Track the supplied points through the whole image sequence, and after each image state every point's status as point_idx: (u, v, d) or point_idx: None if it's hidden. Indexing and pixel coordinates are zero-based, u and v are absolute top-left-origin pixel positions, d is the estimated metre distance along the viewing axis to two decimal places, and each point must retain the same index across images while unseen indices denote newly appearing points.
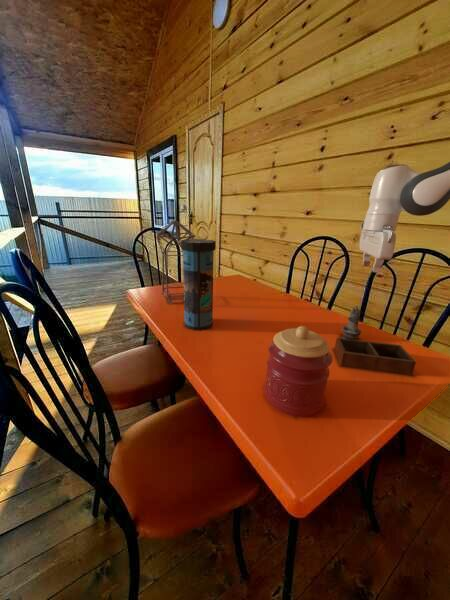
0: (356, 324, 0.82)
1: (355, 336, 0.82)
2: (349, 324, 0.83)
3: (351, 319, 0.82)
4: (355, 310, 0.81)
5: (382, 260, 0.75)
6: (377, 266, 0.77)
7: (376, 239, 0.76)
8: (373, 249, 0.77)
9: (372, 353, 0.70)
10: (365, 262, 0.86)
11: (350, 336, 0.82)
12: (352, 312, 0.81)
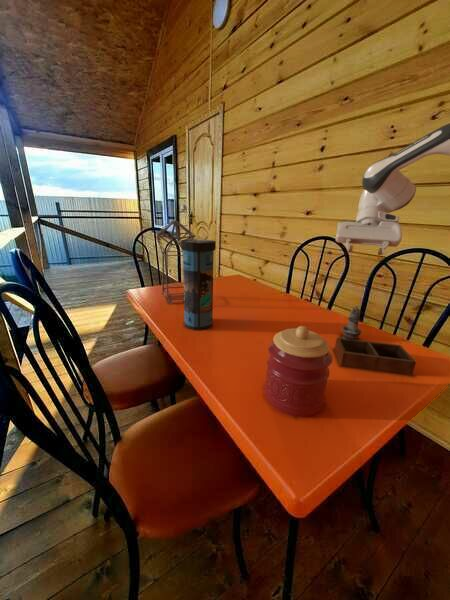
0: (356, 324, 0.82)
1: (355, 336, 0.82)
2: (349, 324, 0.83)
3: (351, 319, 0.82)
4: (355, 310, 0.81)
5: (345, 240, 0.90)
6: (347, 246, 0.90)
7: None
8: None
9: (372, 353, 0.70)
10: (378, 251, 0.86)
11: (350, 336, 0.82)
12: (352, 312, 0.81)
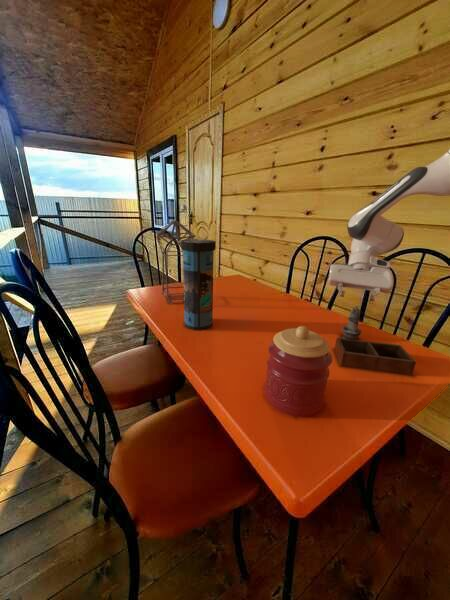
0: (356, 324, 0.82)
1: (355, 336, 0.82)
2: (349, 324, 0.83)
3: (351, 319, 0.82)
4: (355, 310, 0.81)
5: (338, 285, 0.91)
6: (339, 291, 0.90)
7: None
8: None
9: (372, 353, 0.70)
10: None
11: (350, 336, 0.82)
12: (352, 312, 0.81)
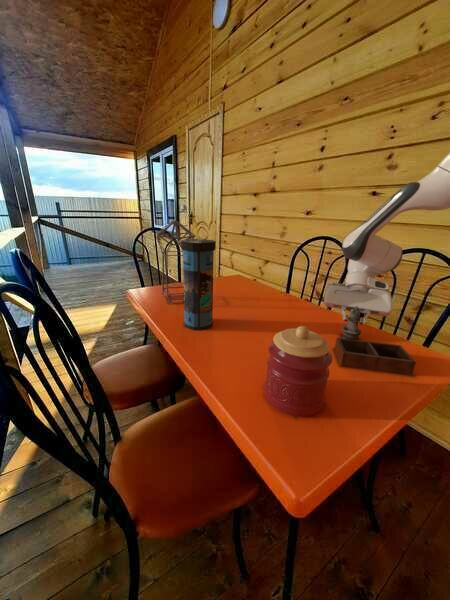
0: (356, 324, 0.82)
1: (355, 336, 0.82)
2: (349, 324, 0.83)
3: (351, 319, 0.82)
4: (355, 310, 0.81)
5: (341, 308, 0.85)
6: (343, 315, 0.85)
7: None
8: None
9: (372, 353, 0.70)
10: None
11: (350, 336, 0.82)
12: (352, 312, 0.81)
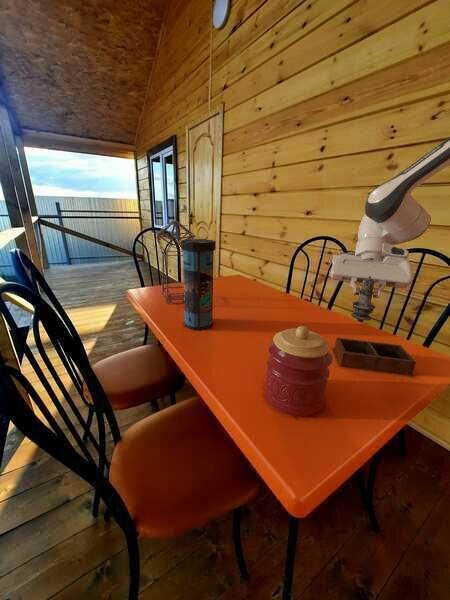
0: (369, 298, 0.69)
1: (368, 312, 0.69)
2: (361, 298, 0.70)
3: (363, 292, 0.69)
4: (368, 281, 0.68)
5: (351, 280, 0.72)
6: (353, 287, 0.72)
7: None
8: None
9: (372, 353, 0.70)
10: None
11: (362, 311, 0.70)
12: (364, 283, 0.69)
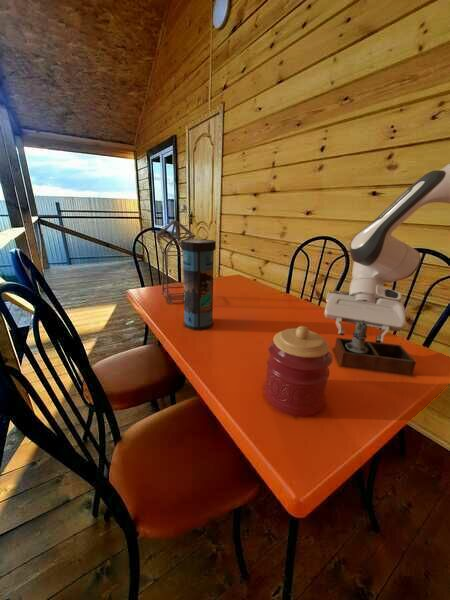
0: (362, 341, 0.69)
1: None
2: (354, 341, 0.70)
3: (356, 335, 0.69)
4: (361, 325, 0.68)
5: (336, 319, 0.73)
6: (338, 327, 0.73)
7: None
8: None
9: (372, 353, 0.70)
10: (376, 337, 0.69)
11: None
12: (357, 327, 0.69)
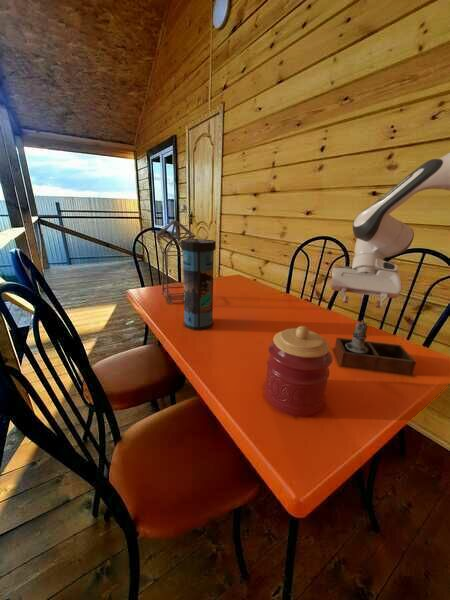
0: (362, 341, 0.69)
1: None
2: (354, 341, 0.70)
3: (356, 335, 0.69)
4: (361, 325, 0.68)
5: (341, 290, 0.84)
6: (342, 296, 0.83)
7: None
8: None
9: (372, 353, 0.70)
10: (376, 303, 0.80)
11: None
12: (357, 327, 0.69)
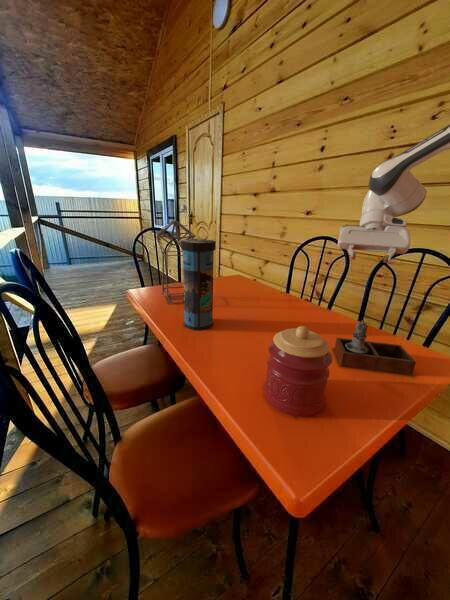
0: (362, 341, 0.69)
1: None
2: (354, 341, 0.70)
3: (356, 335, 0.69)
4: (361, 325, 0.68)
5: (348, 247, 0.83)
6: (350, 253, 0.82)
7: None
8: None
9: (372, 353, 0.70)
10: (384, 259, 0.79)
11: None
12: (357, 327, 0.69)
